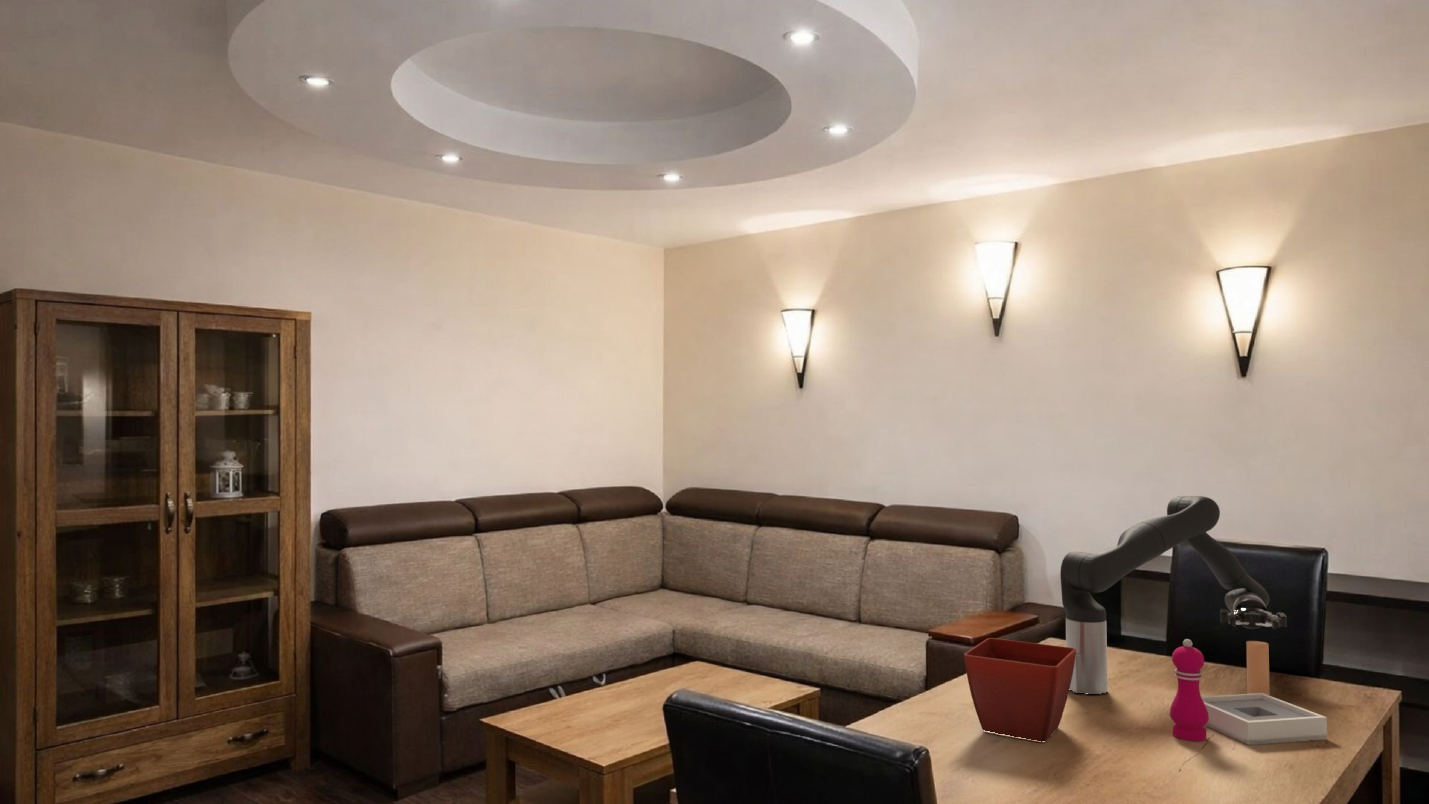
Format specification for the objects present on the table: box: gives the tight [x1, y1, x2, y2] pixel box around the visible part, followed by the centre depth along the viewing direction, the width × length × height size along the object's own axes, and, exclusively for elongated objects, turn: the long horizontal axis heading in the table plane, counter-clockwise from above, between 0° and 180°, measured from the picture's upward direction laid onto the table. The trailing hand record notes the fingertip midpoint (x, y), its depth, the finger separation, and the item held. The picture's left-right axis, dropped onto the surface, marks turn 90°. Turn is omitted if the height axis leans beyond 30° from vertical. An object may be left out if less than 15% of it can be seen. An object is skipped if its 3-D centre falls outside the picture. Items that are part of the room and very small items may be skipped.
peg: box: [1245, 640, 1271, 696], centre depth 218 cm, size 4×4×14 cm
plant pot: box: [963, 637, 1076, 742], centre depth 201 cm, size 19×19×17 cm
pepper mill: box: [1169, 638, 1209, 742], centre depth 196 cm, size 7×7×20 cm
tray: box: [1201, 693, 1328, 746], centre depth 201 cm, size 18×18×4 cm
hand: (1254, 623), depth 228 cm, fingers open, 8 cm apart
